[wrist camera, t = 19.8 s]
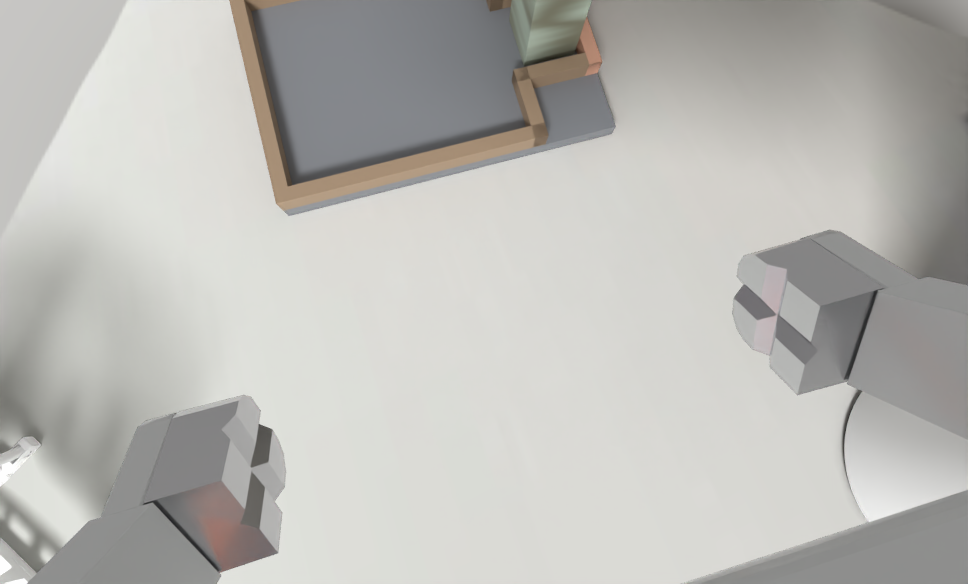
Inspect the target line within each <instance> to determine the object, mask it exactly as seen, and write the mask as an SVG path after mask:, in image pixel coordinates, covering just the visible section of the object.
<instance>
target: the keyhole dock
mask: <svg viewBox="0 0 968 584" xmlns="http://www.w3.org/2000/svg"><path fill="white" fill-rule="evenodd" d="M229 1H230V5H231V9H232V14H233V18H234V22H235V27H236V31H237V36H238V40H239V44H240V49H241V53H242V57H243V62H244V66H245V70H246V75H247V79H248V83H249V88H250V92H251V96H252V101H253V105H254V109H255V114H256V118H257V122H258V127H259V131H260V135H261V140H262V144H263V148H264V153H265V157H266V161H267V166H268V170H269V174H270V179H271V183H272V188H273V192H274V196H275V201H276V204H277V205H278V206H279V207H280V208H281V209H282V210H283V211H284V212H285V213H287V214H288V215H289V216H291V215H295V214H298V213H302V212H306V211H310V210H314V209H318V208H322V207H326V206H330V205H334V204H338V203H342V202H346V201H350V200H354V199H357V198H361V197H365V196H369V195H373V194H377V193H381V192H385V191H389V190H393V189H397V188H401V187H405V186H409V185H413V184H416V183H420V182H424V181H428V180H432V179H436V178H440V177H444V176H448V175H452V174H456V173H460V172H464V171H468V170H472V169H475V168H479V167H483V166H487V165H491V164H495V163H499V162H503V161H507V160H511V159H515V158H519V157H523V156H527V155H531V154H535V153H538V152H542V151H546V150H550V149H554V148H558V147H562V146H566V145H570V144H574V143H578V142H582V141H586V140H590V139H594V138H597V137H601V136H605V135H609V134H612V132H613V130H614V129H615V127H616V126H615V123H614V120H613V117H612V114H611V111H610V108H609V105H608V103H607V100H606V97H605V94H604V91H603V88H602V85H601V82H600V79H599V76H598V70H599V68H600V66H601V63H602V59H601V56H600V53H599V50H598V47H597V44H596V42H595V39H594V36H593V33H592V30H591V27H590V24H589V21H588V18H587V17H586V20H585V23H584V26H583V29H582V32H581V35H580V38H579V41H578V44H577V47H576V50H575V53H574V54H573V55H569V56H565V57H561V58H556V59H552V60H548V61H544V62H540V63H536V64H531V65H527V66H524V65H523V62H522V59H521V56H520V52H519V49H518V46H517V43H516V40H515V37H514V34H513V31H512V28H511V24H510V21H509V17H510V9H511V1H512V0H229Z"/></svg>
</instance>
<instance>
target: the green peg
mask: <svg viewBox="0 0 968 584" xmlns="http://www.w3.org/2000/svg"><path fill="white" fill-rule="evenodd" d="M591 1H592V0H512V1H511V9H510V17H509V21H510V24H511V28H512V31H513V34H514V37H515V40H516V43H517V46H518V49H519V52H520V56H521V59H522V62H523V65H524V66H527V65H531V64H536V63H540V62H544V61H548V60H552V59H556V58H561V57H565V56H569V55H573V54H574V53H575V50H576V47H577V44H578V41H579V38H580V35H581V32H582V29H583V26H584V23H585V20H586V17H587V14H588V11H589V8H590V4H591Z"/></svg>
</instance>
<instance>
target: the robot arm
mask: <svg viewBox="0 0 968 584" xmlns="http://www.w3.org/2000/svg"><path fill="white" fill-rule="evenodd" d="M737 278H738V279H739V280H740V281H741V282H742V283H743V286H742V287H741V289H740V290H739V291H738V293H737V294H736V295H735V297H734V300H733V311H732V314H733V318H734V321H735V325H736V329H737V330H738V332H739V334H740V335H741V337H742V339H743V340H744V341H745V342H746V343H747V344H748V345H749V346H750V347H751V348H752V349H753V350H756V351H758V352H761V353H764V354H766V355H769V356H770V368H771V369H772V370H773V371H774V372H775V373H776V374H777V375H778V376H779V377H780V378H781V379H782V380H783V381H784V382H785V383H786V384H787V385H788V386H789V387H790V388H791V389H792V390H793V391H794V392H795V393H796V394H797V395H800V394H803V393H807V392H811V391H814V390H818V389H821V388H825V387H829V386H832V385H836V384H840V383H843V382H847V381H848V383H847V384H848V385H850V386H852V387H854V388H857V389H859V390H861V391H862V392H861V394H860V395H859V397H858V399H857V400H856V402H855V404H854V406H853V409H852V411H851V414H850V417H849V420H848V423H847V428H846V434H845V444H844V454H845V465H846V471H847V476H848V480H849V484H850V487H851V490H852V492H853V495H854V497H855V500H856V502H857V504H858V506H859V508H860V509H861V511H862V513H863V515H864V516H865V518H866V519H867V521H868V523H865V524H862V525H859V526H856V527H853V528H850V529H847V530H844V531H840V532H837V533H834V534H831V535H828V536H825V537H822V538H819V539H816V540H813V541H810V542H807V543H804V544H801V545H798V546H795V547H792V548H789V549H786V550H783V551H780V552H777V553H773V554H770V555H767V556H764V557H761V558H758V559H755V560H752V561H749V562H746V563H743V564H740V565H737V566H734V567H731V568H728V569H725V570H722V571H719V572H716V573H713V574H710V575H706V576H703V577H700V578H697V579H694V580H691V581H688V582H685V583H682V584H968V285H965V284H960V283H955V282H951V281H946V280H941V279H937V278H932V277H925V278H921V279H918V278H916V277H914V276H913V275H911V274H910V273H908V272H906V271H905V270H903V269H901V268H900V267H898V266H896V265H895V264H893V263H891V262H890V261H888V260H886V259H885V258H883V257H881V256H880V255H878V254H876V253H875V252H873V251H872V250H870V249H868V248H867V247H865V246H863V245H862V244H860V243H858V242H857V241H855V240H853V239H852V238H850V237H848V236H847V235H845V234H843V233H842V232H839V231H834V230H827V231H824V232H820V233H817V234H814V235H810V236H807V237H804V238H801V239H800V240H796V241H792V242H789V243H786V244H782V245H779V246H775V247H772V248H768V249H765V250H761V251H758V252H754V253H751V254H747V255H744V256H743V257H742V259H741V261H740V262H739V264H738V270H737ZM260 412H261V410H260V409H259V408H258V406H257V405H256V403H255V402H254V400H253V399H252V397H250V396H246V395H241V396H237V397H234V398H230V399H226V400H222V401H218V402H214V403H210V404H206V405H202V406H198V407H194V408H191V409H187V410H183V411H179V412H178V413H173V414H169V415H165V416H162V417H158V418H154V419H150V420H146V421H145V422H143V423H142V424H141V425H140V426H139V427H137V429H136V432H135V434H134V436H133V439H132V441H131V444H130V446H129V449H128V451H127V454H126V456H125V459H124V461H123V463H122V466H121V468H120V471H119V473H118V476H117V478H116V481H115V483H114V486H113V488H112V490H111V493H110V495H109V498H108V500H107V503H106V505H105V508H104V510H103V513H102V515H101V517H100V518H97V519H94V520H91V521H89V522H88V523H87V524H86V525H85V526H84V527H83V528H82V529H81V530H80V531H79V532H78V533H77V534H76V535H75V536H74V537H73V538H72V539H71V540H70V541H69V542H68V543H67V544H66V545H65V546H64V547H63V548H62V549H61V550H60V551H59V552H58V553H57V554H56V555H55V556H54V557H53V558H52V559H51V560H50V561H49V562H48V563H47V564H46V565H45V566H44V567H43V568H42V569H41V570H40V571H39V572H38V573H37V574H36V575H35V576H34V577H33V578H32V579H31V580H30V581H29V582H28V583H27V584H217V582H218V580H219V579H220V577H221V574H220V572H223V571H226V570H229V569H232V568H235V567H238V566H241V565H244V564H247V563H250V562H253V561H256V560H259V559H262V558H265V557H268V556H271V555H274V554H277V553H278V550H279V540H280V530H281V521H282V511H281V510H280V509H279V507H278V506H277V504H276V503H275V500H276V499H277V497H278V496H279V494H280V493H281V492H282V490H283V489H284V487H285V477H286V468H285V461H284V453H283V450H282V448H281V445H280V442H279V440H278V438H277V436H276V435H275V433H274V431H273V430H272V429H270V428H267V427H265V426H263V425H260V424H259V419H260Z"/></svg>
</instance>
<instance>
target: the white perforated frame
mask: <svg viewBox="0 0 968 584" xmlns="http://www.w3.org/2000/svg"><path fill="white" fill-rule="evenodd" d="M40 446H41V444H40V443H39V442H38V441H37V440H36V439H35V438H34V437H33V436H30V437H22V438H21V439H20V440H19V441H18V442H17V443H16V444H15V445H14V446H13V448H12V449H11V450H9V451H6V452H4V453H2V454H1V453H0V487H1V486H2V485H3V484H4V483H5V482H6V481H7V480H8V479H9V478H10V477H11V476H12V475H13V474H14V473H15V472H16V471H17V470H18V469H19V467H20V466H21V465H22V464H23V463H24V462H25V461H26V460H27V459H28V458H29V457H30V456H31V455H32V454H33V453H34V452H35V451H36V450H37V449H38V448H39V447H40ZM31 451H32V452H31ZM30 452H31V453H30ZM36 574H37V573H36V572H35V571H34V570H33V569H32V568H31V567H30V566H29V565H28V564H27V563H26V562H25V561H24V560H23V559H22V558H21V557H20V556H19V555H18V554H17V553H16V552H15V551H14V550H13V549H12V548H11V547H10V546H9V545H8V544H7V543H6V542H5V541H4V540H3V539H2V538H1V537H0V584H27V583H28V582H29V581H30V580H31V579H32V578H33V577H34V576H35V575H36Z"/></svg>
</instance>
